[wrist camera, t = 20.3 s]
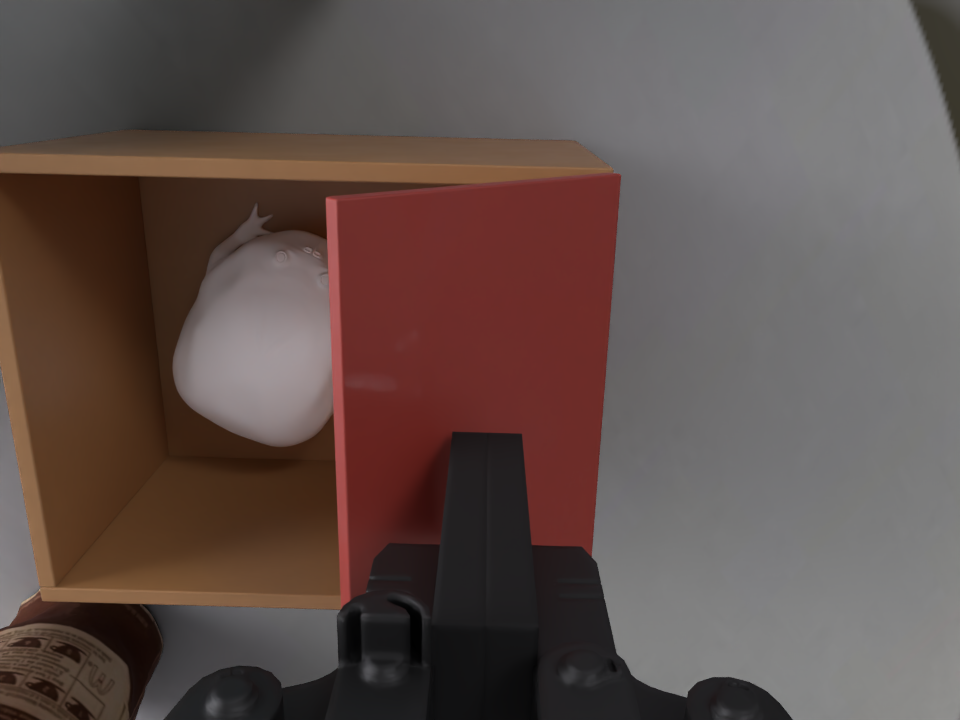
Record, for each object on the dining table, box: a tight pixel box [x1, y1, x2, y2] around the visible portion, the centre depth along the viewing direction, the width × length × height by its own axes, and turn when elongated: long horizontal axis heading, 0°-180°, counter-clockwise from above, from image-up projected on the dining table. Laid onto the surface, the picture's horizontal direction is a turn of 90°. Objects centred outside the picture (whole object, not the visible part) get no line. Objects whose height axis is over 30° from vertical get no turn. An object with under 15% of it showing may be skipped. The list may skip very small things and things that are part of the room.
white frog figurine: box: [172, 203, 334, 447], centre depth 29 cm, size 8×7×4 cm
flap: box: [326, 173, 621, 609], centre depth 19 cm, size 8×13×1 cm
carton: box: [0, 130, 614, 610], centre depth 27 cm, size 16×13×10 cm
